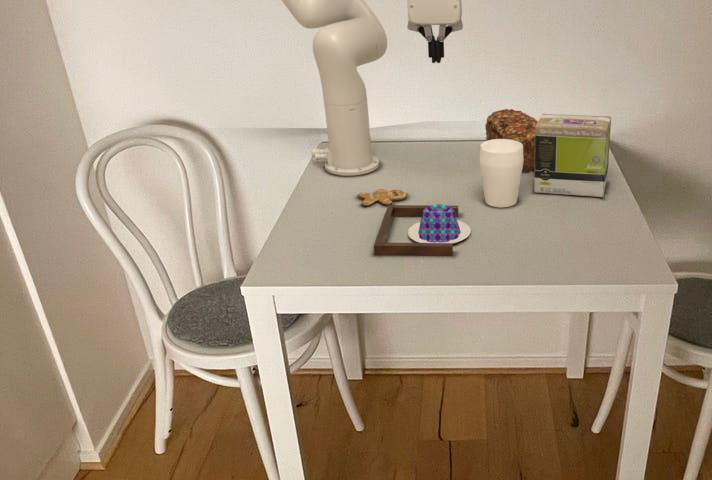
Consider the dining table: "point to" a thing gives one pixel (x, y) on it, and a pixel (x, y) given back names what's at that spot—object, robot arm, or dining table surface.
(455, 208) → the frame
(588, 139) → the tea box
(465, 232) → the pudding
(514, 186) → the cup
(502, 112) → the bread
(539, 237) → the dining table surface
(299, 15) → the robot arm
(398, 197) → the cookie
